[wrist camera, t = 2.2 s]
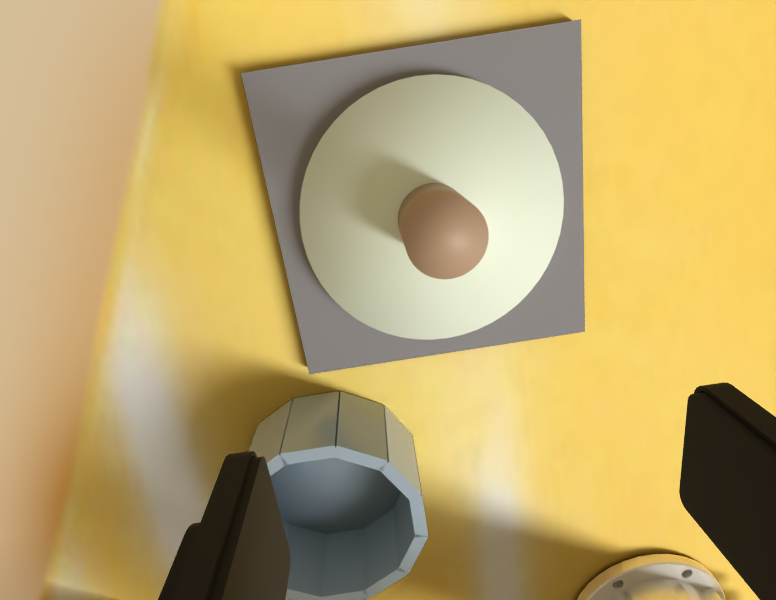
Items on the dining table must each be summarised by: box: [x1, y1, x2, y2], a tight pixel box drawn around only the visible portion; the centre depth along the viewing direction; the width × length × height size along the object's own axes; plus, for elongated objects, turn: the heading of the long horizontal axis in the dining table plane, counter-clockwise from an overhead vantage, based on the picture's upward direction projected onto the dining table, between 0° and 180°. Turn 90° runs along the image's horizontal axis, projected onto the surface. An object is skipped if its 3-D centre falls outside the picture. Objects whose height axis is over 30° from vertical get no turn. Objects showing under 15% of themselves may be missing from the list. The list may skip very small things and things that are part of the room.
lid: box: [300, 74, 564, 340], centre depth 27 cm, size 15×15×6 cm
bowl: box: [248, 391, 428, 600], centre depth 33 cm, size 12×12×6 cm
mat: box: [241, 20, 585, 374], centre depth 30 cm, size 18×18×1 cm
